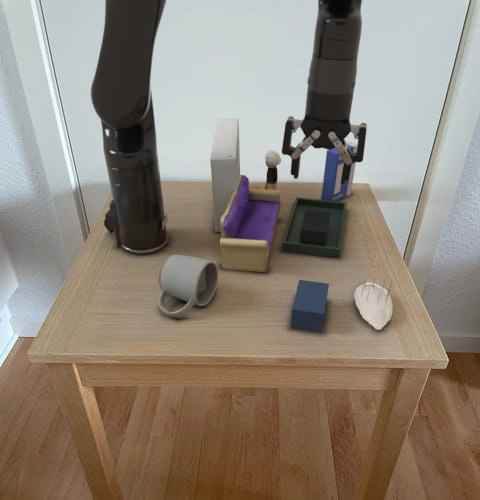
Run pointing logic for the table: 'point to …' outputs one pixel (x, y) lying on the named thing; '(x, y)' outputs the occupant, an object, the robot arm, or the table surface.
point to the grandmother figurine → (272, 169)
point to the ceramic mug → (187, 282)
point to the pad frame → (334, 230)
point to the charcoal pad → (315, 227)
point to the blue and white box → (337, 175)
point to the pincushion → (374, 304)
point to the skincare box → (224, 165)
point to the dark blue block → (309, 306)
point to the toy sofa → (248, 227)
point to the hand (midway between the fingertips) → (319, 179)
